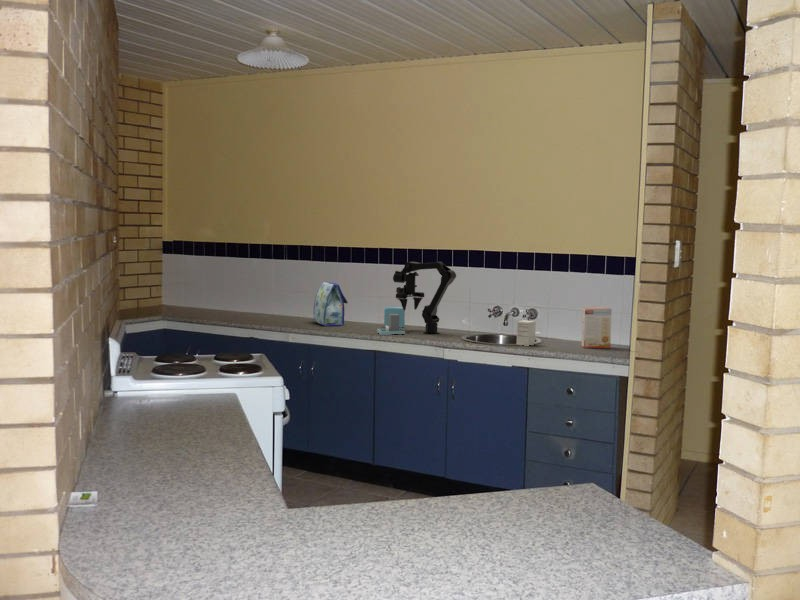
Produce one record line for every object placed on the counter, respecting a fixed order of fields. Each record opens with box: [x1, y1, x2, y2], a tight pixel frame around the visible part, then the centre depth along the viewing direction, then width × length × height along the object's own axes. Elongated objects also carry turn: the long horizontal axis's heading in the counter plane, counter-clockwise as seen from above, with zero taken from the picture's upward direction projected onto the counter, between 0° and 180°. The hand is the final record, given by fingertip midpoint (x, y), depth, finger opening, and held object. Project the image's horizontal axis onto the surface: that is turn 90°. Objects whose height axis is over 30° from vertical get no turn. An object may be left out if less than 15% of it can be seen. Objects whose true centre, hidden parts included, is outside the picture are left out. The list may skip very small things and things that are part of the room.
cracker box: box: [581, 306, 613, 349], centre depth 413 cm, size 14×6×21 cm, turn 92°
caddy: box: [376, 326, 406, 336], centre depth 452 cm, size 14×11×4 cm
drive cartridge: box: [389, 314, 400, 331], centre depth 452 cm, size 5×5×10 cm
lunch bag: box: [313, 281, 348, 327], centre depth 492 cm, size 22×17×26 cm
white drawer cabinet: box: [516, 319, 536, 347], centre depth 418 cm, size 7×7×13 cm
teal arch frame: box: [383, 306, 406, 328], centre depth 483 cm, size 12×4×12 cm, turn 96°
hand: (409, 310), depth 465 cm, fingers open, 9 cm apart
